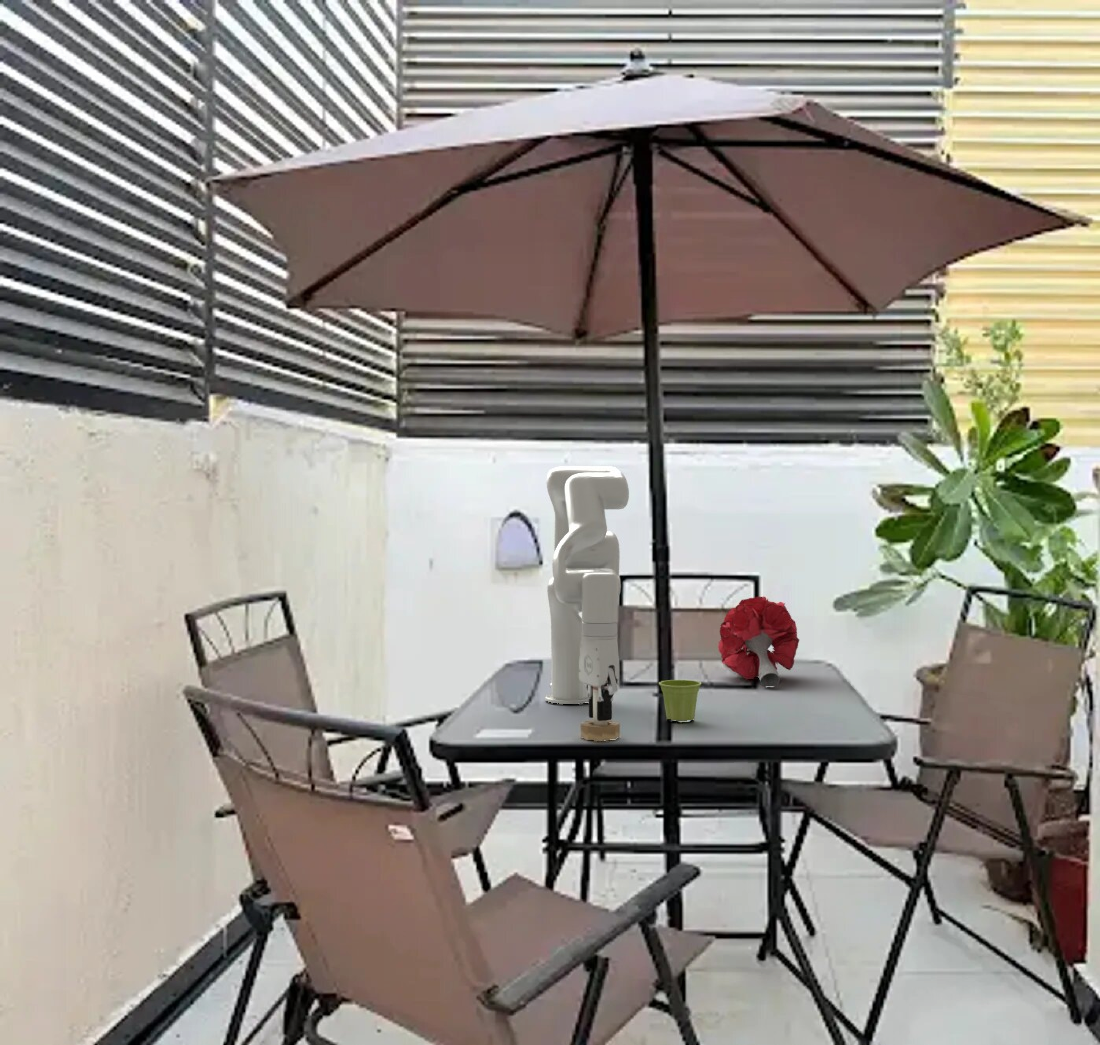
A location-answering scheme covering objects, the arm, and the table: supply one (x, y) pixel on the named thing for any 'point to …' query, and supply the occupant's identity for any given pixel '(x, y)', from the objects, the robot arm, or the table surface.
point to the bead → (600, 731)
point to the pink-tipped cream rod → (595, 699)
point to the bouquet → (758, 639)
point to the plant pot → (680, 698)
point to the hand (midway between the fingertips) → (600, 717)
